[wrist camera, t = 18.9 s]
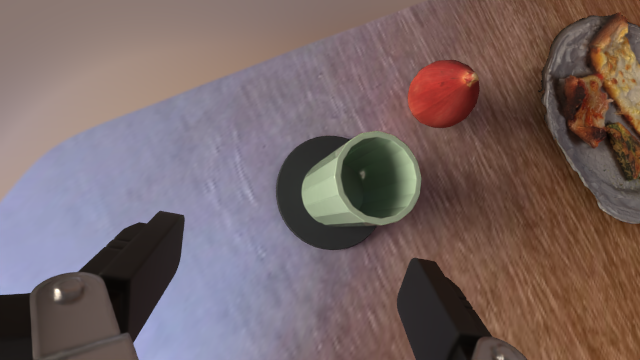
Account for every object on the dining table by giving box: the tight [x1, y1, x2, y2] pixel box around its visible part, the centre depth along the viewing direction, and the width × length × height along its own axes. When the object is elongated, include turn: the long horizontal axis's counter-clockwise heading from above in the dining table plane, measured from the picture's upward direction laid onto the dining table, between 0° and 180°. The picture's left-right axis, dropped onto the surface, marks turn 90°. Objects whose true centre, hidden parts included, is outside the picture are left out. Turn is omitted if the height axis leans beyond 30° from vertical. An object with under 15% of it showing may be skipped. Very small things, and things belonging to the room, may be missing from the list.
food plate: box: [538, 13, 640, 224], centre depth 39 cm, size 25×23×4 cm
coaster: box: [276, 136, 377, 250], centre depth 30 cm, size 10×10×1 cm
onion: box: [408, 60, 480, 128], centre depth 30 cm, size 6×6×8 cm
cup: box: [302, 131, 421, 227], centre depth 25 cm, size 6×6×9 cm
